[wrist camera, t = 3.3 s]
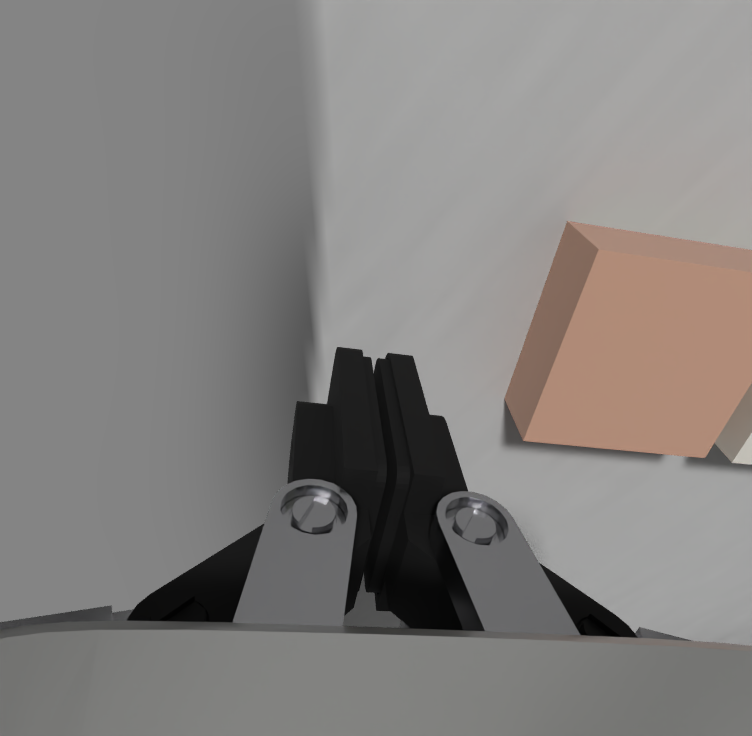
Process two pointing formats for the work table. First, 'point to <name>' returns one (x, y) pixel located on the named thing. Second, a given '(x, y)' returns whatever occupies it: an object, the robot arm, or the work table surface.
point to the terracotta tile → (636, 344)
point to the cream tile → (738, 432)
